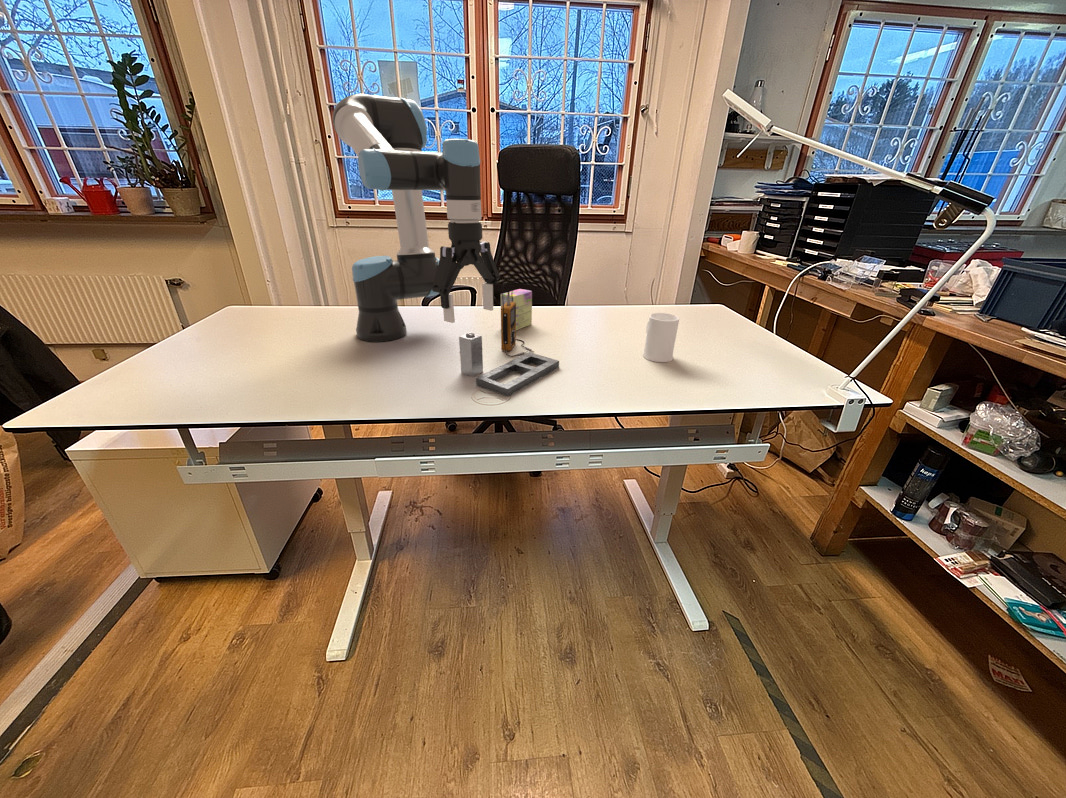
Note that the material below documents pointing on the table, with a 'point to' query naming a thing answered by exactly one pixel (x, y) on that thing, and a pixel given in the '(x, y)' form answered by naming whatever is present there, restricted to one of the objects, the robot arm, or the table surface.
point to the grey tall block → (471, 354)
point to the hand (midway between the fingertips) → (469, 315)
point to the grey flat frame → (521, 367)
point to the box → (521, 306)
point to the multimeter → (509, 324)
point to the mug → (660, 337)
